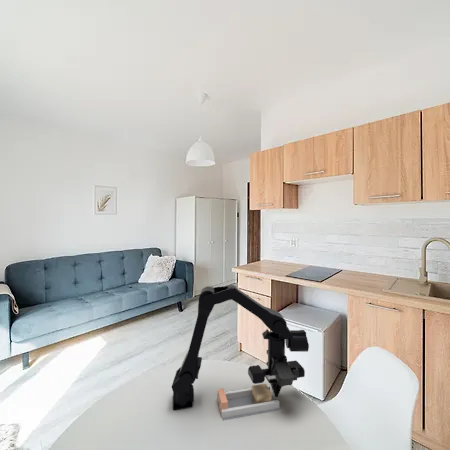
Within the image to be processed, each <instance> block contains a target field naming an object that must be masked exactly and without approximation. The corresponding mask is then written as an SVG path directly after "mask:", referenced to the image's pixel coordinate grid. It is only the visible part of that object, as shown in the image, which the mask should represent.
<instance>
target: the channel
mask: <svg viewBox="0 0 450 450" xmlns="http://www.w3.org/2000/svg"><path fill="white" fill-rule="evenodd" d="M266 385H267V384H266ZM267 387H268V388H269V390H270V391H271V385H269V384H268V385H267ZM216 402H217V404H218V407H219V412H220V416H221V418H222V421H227V420H232V419H233V420H234V419H240V418H245V417H251V416H256V415H261V414H267V413H272V412H277V411H281V408H280V400H278V399H276V400H275V399H274V397H273V396H272V394H271V401H269V402H264V403H258V404H255V402H254V400H253V398H252V387H249V388H243V389H235V390H229V391H225V389H224V388H218V389H217V392H216Z"/></svg>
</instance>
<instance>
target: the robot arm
mask: <svg viewBox="0 0 450 450" xmlns="http://www.w3.org/2000/svg"><path fill="white" fill-rule="evenodd" d="M231 300H232V301H233V302H235V303H236V304H237V305H240V306H241V307H242V308H243V309H244V310H246V311H248V312H250V313H251V314H252V315H254V316H255V317H256V318H258V319H260V320H261V321H262V323H263V324H264V326H266V327H267V328H266V330H264V331H263V332H262V338H263V340H267V349H266V355H267V361H266V367H267V368H262V367H261V366H260V365H259V364H257V365H250V366H249V367H248V369H247V374H248V377H249V378H250V380H251V382H252V384H254V385H259V384H264V382H265V381H267V382H268V383H269V384H270V388H271V389H272V393H273V395H274V397H275V398H278V397H279V395H280V392H281V390H282V387H285V386H292V385H293V382H294V381H298V378H305V374H306V372H305V371H306V370H305V368H304V367H303V366H302V365H301V364H300V363H299V361H297V360H291V361H290V360H289V361H288V357H287V355H286V348H287V349H288V350H289V351H290V352H302V353H303V352H305V353H307V352H309V348H310V344H309V340H308V337H307V332H306V331H305V329H299V330H297V329H296V330H290V328H289V327H288V324H287V321H286V320H285V318H284V317H283V315H282V313H280V311H277V310H274V309H272V308H270V307H267V306H264V305H263V304H261V303H259V302H258V301H256V300H255V299H254V298H252V297H251V296H249V295H248V294H246V293H245V292H243V291H242V290H240V288H238V287H237V286H236V285H234V284H233V285H232V284H230V285H226V286H215V287H213V286H210V285H209V286H204V287H203V288H202V289H201V291H200V294H199V296H198V304H197V317H196V321H195V325H194V329H193V333H192V337H191V340H190V343H189V347H188V351H187V352H186V354H185V356H184V359H183V361H182V364H181V366H180V367H179V368H178V369H177V370H176V371H175V374H174V378H173V382H172V385H171V390H172V410H173V411H177V410H179V411H180V410H184V409H190V408H193V406H194V403H193V402H194V401H195V399H194V398H195V393H194V392H195V389H194V385H193V384H194V383H195V381H196V379H197V380H198V379H199V374H200V369H201V367H202V361H203V357H200V356H199V353H200V351H201V350H200V349H201V346H202V342H203V338H204V334H205V330H206V326H207V323H208V319H209V316H210V315H211V313H212V311H213V309H214V307H215V305H217V304H222V303H225V302H227V301H231Z"/></svg>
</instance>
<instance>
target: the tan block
mask: <svg viewBox="0 0 450 450" xmlns="http://www.w3.org/2000/svg"><path fill="white" fill-rule="evenodd" d="M251 388H252V398H253V400H254V402H255V404H258V403H264V402H269V401H271V395H272V392H271V389H270V390H269V388H268V387H267V383H259V384H254V385H251Z"/></svg>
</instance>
